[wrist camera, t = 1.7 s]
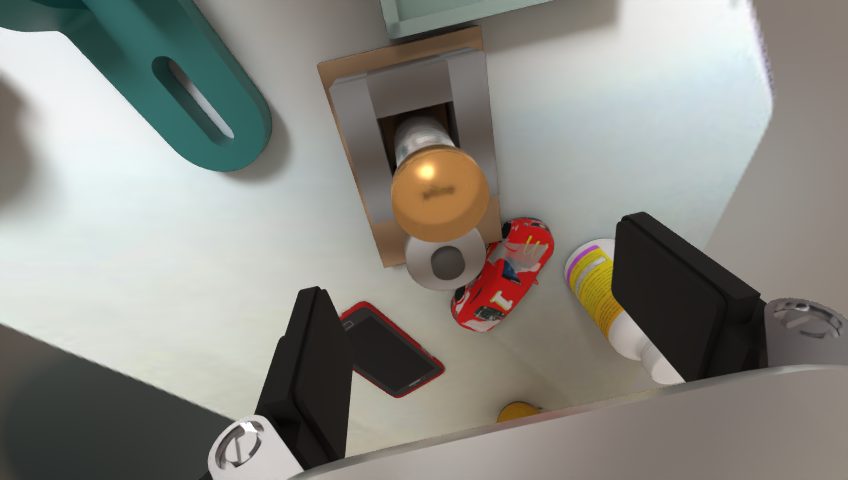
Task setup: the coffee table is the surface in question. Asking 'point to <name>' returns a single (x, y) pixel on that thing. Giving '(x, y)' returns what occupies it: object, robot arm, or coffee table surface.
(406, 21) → the tray
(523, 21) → the coffee table surface
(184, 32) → the bracket
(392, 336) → the cell phone
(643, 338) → the supplement bottle
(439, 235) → the pin
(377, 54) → the square socket fixture board
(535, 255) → the race car
